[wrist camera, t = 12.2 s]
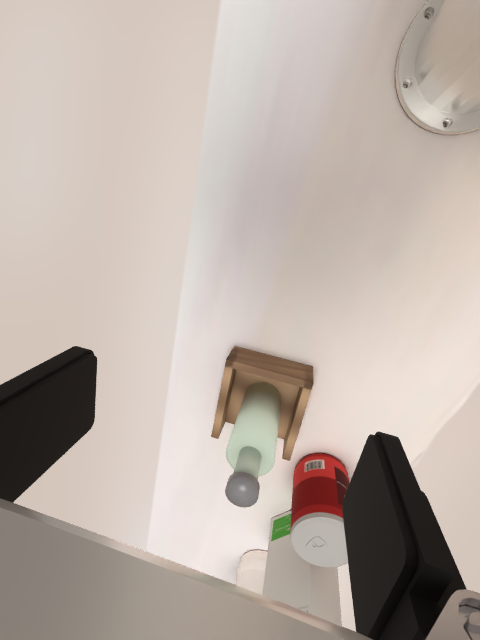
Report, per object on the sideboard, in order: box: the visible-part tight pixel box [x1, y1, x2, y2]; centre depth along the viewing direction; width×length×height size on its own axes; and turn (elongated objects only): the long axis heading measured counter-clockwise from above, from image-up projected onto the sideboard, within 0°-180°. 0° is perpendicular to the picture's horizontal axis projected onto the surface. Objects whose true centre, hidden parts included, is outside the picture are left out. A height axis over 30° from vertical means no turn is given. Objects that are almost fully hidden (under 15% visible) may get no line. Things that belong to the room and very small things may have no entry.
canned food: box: [290, 453, 350, 567], centre depth 42 cm, size 8×8×11 cm
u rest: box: [211, 346, 313, 461], centre depth 43 cm, size 12×11×5 cm
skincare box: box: [262, 510, 342, 626], centre depth 43 cm, size 8×7×16 cm
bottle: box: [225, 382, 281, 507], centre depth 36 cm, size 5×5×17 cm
